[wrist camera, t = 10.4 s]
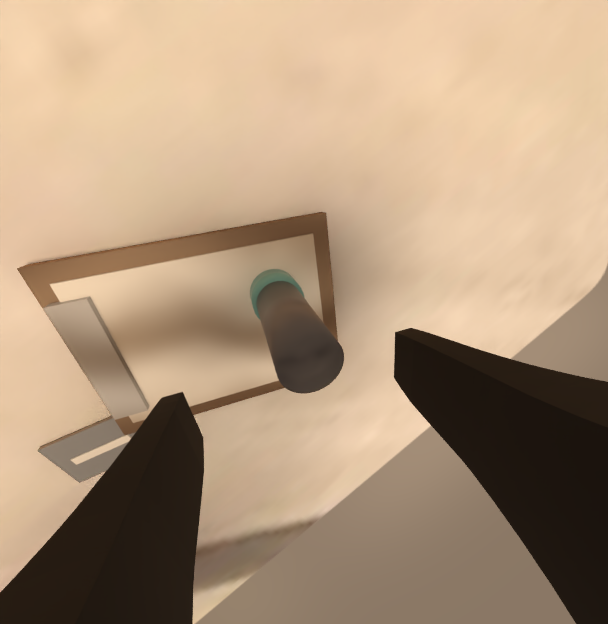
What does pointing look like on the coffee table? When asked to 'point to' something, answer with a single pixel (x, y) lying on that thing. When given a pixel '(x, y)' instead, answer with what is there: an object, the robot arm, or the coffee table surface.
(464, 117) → the coffee table surface
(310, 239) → the brown picture frame
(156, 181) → the coffee table surface
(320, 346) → the marker
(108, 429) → the grey slotted plate
